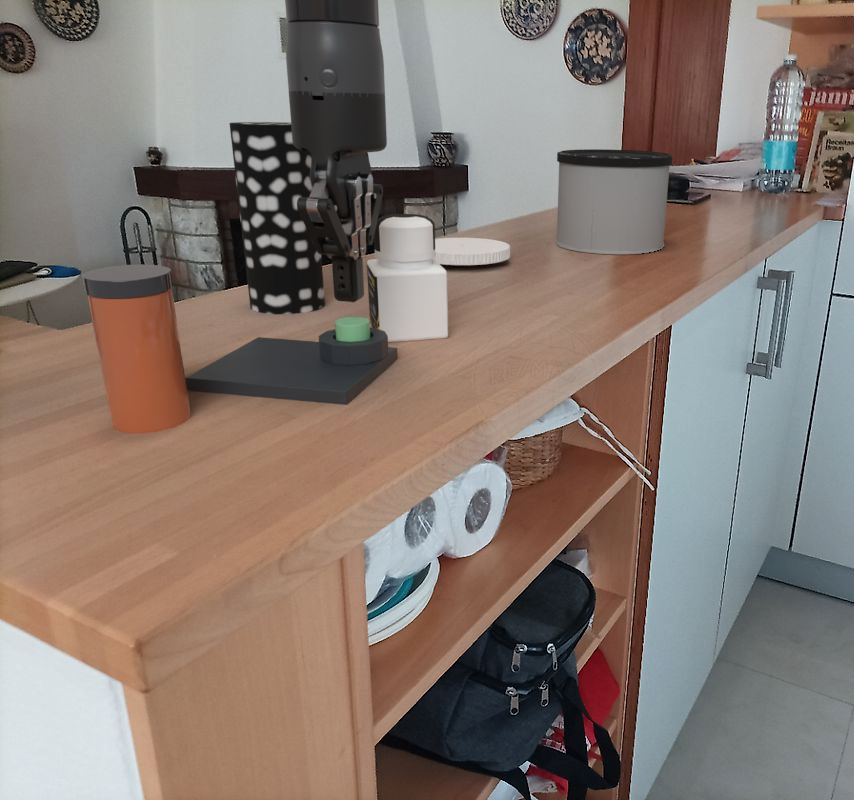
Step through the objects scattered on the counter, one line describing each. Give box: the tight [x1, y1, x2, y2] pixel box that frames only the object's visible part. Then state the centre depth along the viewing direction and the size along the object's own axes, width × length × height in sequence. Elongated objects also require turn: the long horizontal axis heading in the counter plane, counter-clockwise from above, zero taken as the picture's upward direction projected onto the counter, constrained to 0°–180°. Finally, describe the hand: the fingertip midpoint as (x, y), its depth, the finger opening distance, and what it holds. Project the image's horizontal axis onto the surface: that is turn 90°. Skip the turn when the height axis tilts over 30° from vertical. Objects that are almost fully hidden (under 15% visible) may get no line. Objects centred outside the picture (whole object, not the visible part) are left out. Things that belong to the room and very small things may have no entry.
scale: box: [185, 327, 399, 406], centre depth 68 cm, size 14×12×3 cm
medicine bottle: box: [366, 213, 449, 343], centre depth 80 cm, size 7×7×12 cm
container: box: [555, 148, 674, 256], centre depth 131 cm, size 19×19×15 cm
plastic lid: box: [434, 237, 511, 266], centre depth 116 cm, size 14×14×2 cm
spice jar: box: [81, 264, 192, 434], centre depth 57 cm, size 6×6×11 cm
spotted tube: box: [229, 121, 326, 315], centre depth 87 cm, size 8×8×20 cm
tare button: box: [334, 316, 371, 342], centre depth 70 cm, size 3×3×2 cm
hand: (349, 299), depth 69 cm, fingers closed
